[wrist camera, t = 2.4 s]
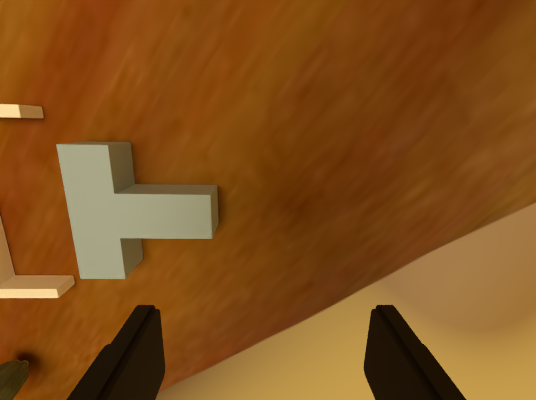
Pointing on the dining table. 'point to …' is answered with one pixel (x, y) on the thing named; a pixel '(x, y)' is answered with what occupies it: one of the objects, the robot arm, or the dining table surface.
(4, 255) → the dock
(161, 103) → the dining table surface
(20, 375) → the vegetable
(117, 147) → the t block
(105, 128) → the dining table surface
